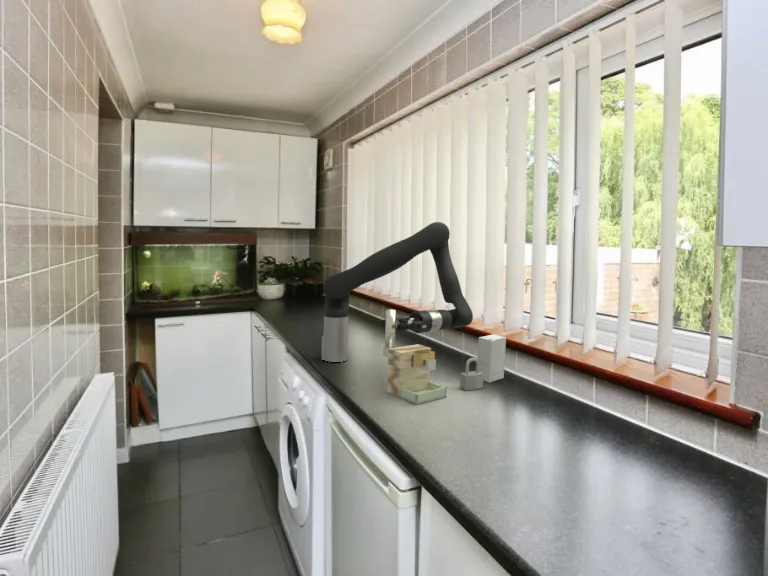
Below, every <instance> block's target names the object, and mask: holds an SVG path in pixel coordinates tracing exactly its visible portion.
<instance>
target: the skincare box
mask: <svg viewBox="0 0 768 576" xmlns="http://www.w3.org/2000/svg"><path fill="white" fill-rule="evenodd" d="M506 346H507V337H506V336H501V335H499V334H495V333H494V334H493V333H492V334H489V335H485V336H479V337H478V345H477V347H478V348H477V359H478V360H479V364H480V365H479V372H481V373H483V382H487V383H492V382H496V381H498V380H499V381H500V380H502V379H504V378H505V376H504V375H505V365H506V363H505V361H506Z"/></svg>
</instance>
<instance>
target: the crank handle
mask: <svg viewBox="0 0 768 576" xmlns="http://www.w3.org/2000/svg"><path fill="white" fill-rule="evenodd" d="M396 312H397V310H396V309H389V308H388V309H385V319H386V325H385V326H384V327H385V329H384V331H385V332H384V345H383V347H382V356H384V357H387V358H388V353H389V349H390V348H397V346H396V326H395V321H396V317H397V316H396V315H397V313H396ZM413 362H414V355H412V363H411V365H412V366H415V367H417V368H420V369H423V370H426V371H430V372H431V371H436V366H437V360H436V359H427V360H424V364H423V367H420V366H417V365H414V364H413Z"/></svg>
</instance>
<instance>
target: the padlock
mask: <svg viewBox="0 0 768 576" xmlns="http://www.w3.org/2000/svg"><path fill="white" fill-rule="evenodd" d="M471 362H475V370H474V371H470V364H471ZM479 365H480V364H479V360H478V357H471V358H468V359H467V360H466V362H465V367H464V369H465V371H464V372H461V373H460V382H459V383H460V384H459V388H460V389H461V390H463V391H474V390H479V389H482V388H483V386H484V381H483V373H481V372H479Z"/></svg>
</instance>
